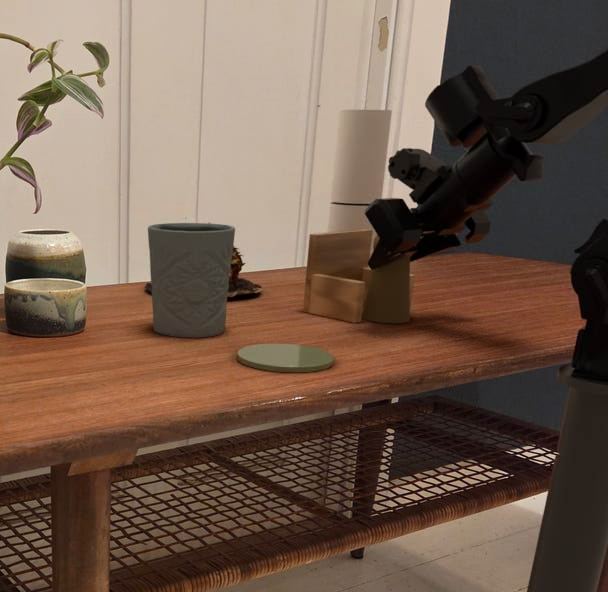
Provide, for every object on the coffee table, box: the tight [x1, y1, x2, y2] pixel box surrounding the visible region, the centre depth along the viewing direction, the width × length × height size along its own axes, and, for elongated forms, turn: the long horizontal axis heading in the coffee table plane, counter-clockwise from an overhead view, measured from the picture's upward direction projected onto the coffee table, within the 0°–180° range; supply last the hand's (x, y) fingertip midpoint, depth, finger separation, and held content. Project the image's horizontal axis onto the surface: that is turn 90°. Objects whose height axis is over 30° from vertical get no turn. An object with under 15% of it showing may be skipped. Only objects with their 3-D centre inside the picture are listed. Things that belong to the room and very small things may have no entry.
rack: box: [302, 229, 416, 324], centre depth 115 cm, size 9×11×10 cm
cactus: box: [144, 222, 263, 298], centre depth 128 cm, size 17×16×10 cm
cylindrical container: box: [327, 109, 393, 268], centre depth 128 cm, size 7×7×25 cm
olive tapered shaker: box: [361, 235, 417, 324], centre depth 112 cm, size 6×6×11 cm
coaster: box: [236, 343, 335, 374], centre depth 93 cm, size 10×10×1 cm
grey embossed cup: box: [147, 222, 236, 338], centre depth 104 cm, size 10×10×12 cm
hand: (383, 264), depth 112 cm, fingers closed on olive tapered shaker, 5 cm apart
